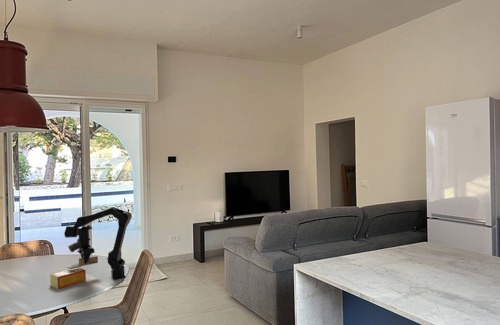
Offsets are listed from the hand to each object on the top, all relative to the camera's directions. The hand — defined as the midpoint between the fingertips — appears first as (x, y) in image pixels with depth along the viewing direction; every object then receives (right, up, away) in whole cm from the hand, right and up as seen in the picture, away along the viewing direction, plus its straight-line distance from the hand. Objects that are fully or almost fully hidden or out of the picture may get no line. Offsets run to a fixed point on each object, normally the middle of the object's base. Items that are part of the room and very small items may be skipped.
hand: (84, 263), depth 221 cm
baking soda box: (-11, -6, -14) cm, 19 cm away
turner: (-1, -1, -1) cm, 1 cm away
